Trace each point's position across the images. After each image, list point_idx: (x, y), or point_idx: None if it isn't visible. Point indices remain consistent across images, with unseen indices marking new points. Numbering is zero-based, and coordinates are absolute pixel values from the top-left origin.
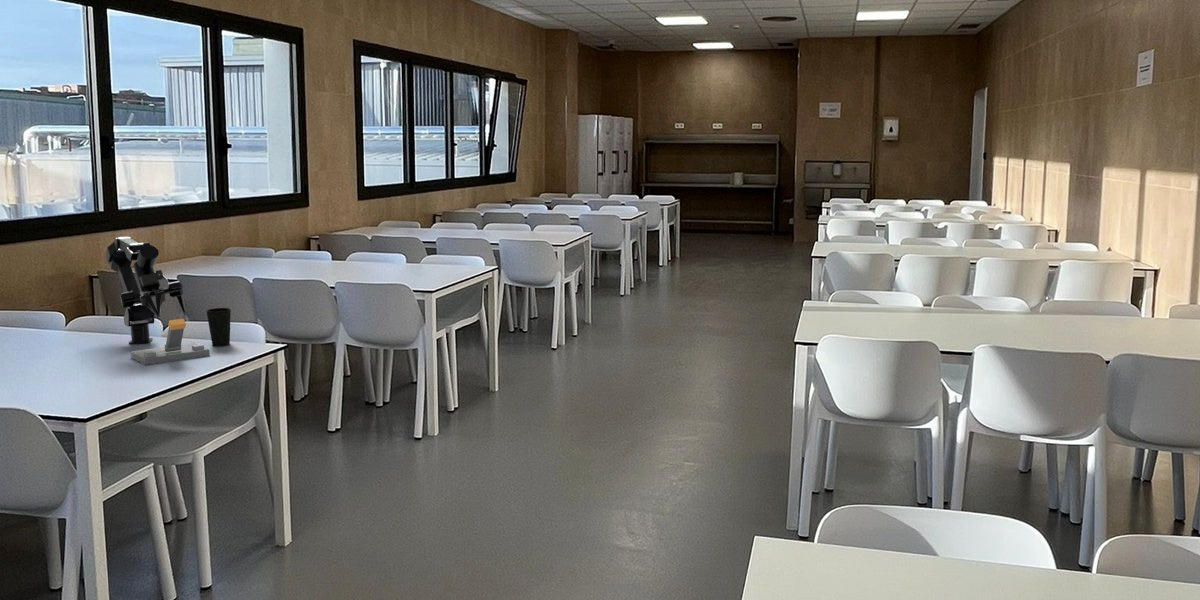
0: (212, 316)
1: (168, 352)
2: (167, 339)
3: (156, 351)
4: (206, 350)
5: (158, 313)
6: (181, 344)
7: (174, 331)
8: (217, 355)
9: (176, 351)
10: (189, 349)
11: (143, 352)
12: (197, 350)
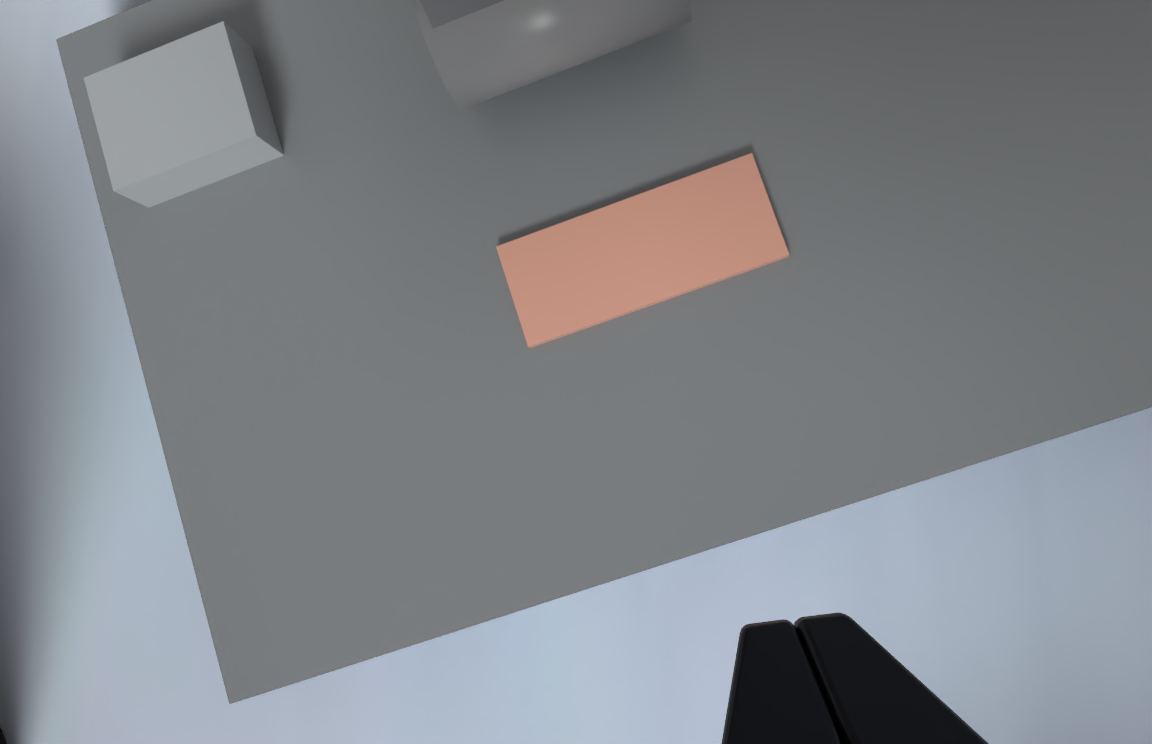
0: None
1: None
2: None
3: (837, 179)
4: (103, 30)
5: (794, 661)
6: (426, 633)
7: None
8: (25, 43)
9: None
10: (323, 143)
11: (1061, 178)
12: (217, 18)
